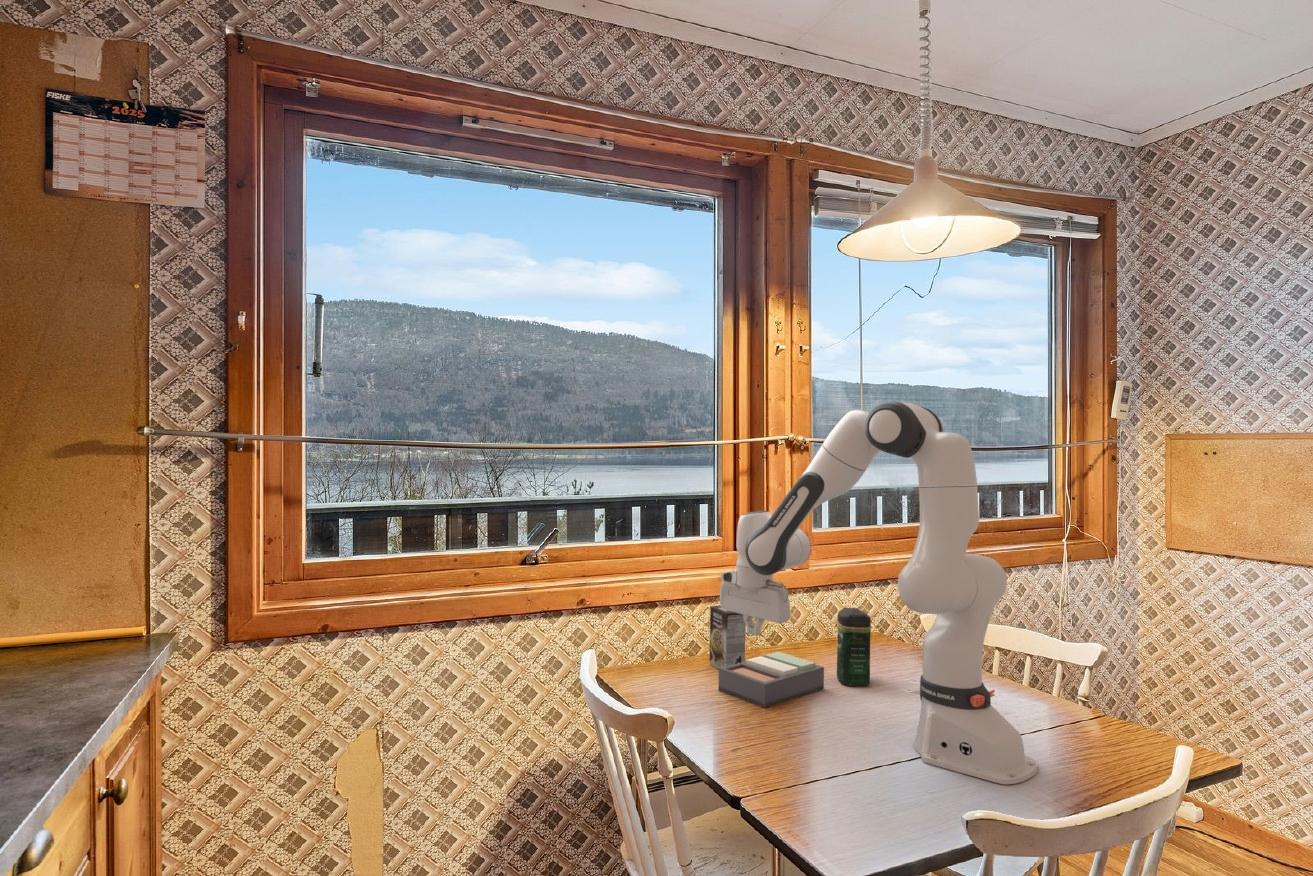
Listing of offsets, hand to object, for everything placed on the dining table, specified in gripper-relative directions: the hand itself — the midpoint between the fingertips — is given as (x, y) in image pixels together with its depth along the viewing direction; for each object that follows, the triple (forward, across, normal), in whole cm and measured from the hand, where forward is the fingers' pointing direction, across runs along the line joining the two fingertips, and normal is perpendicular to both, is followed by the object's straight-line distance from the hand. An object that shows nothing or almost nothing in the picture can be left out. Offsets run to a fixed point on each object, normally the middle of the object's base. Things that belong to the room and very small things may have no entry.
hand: (753, 634), depth 177 cm
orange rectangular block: (+13, 0, 0) cm, 13 cm away
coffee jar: (+15, -8, -29) cm, 34 cm away
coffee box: (+15, +20, -11) cm, 27 cm away
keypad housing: (+15, 0, -7) cm, 16 cm away
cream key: (+11, 0, -7) cm, 13 cm away
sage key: (+11, 0, -14) cm, 18 cm away
